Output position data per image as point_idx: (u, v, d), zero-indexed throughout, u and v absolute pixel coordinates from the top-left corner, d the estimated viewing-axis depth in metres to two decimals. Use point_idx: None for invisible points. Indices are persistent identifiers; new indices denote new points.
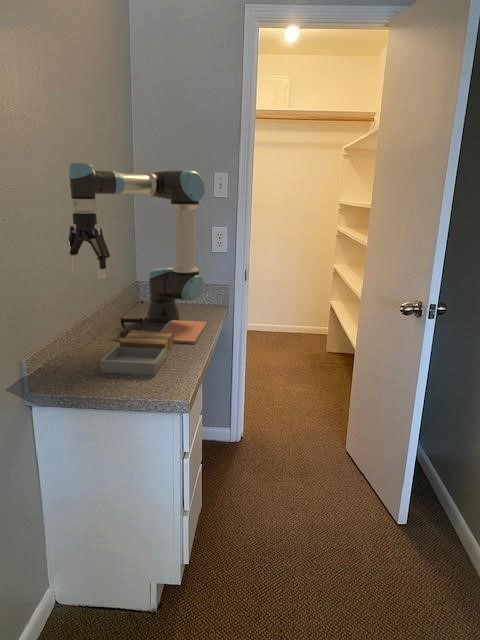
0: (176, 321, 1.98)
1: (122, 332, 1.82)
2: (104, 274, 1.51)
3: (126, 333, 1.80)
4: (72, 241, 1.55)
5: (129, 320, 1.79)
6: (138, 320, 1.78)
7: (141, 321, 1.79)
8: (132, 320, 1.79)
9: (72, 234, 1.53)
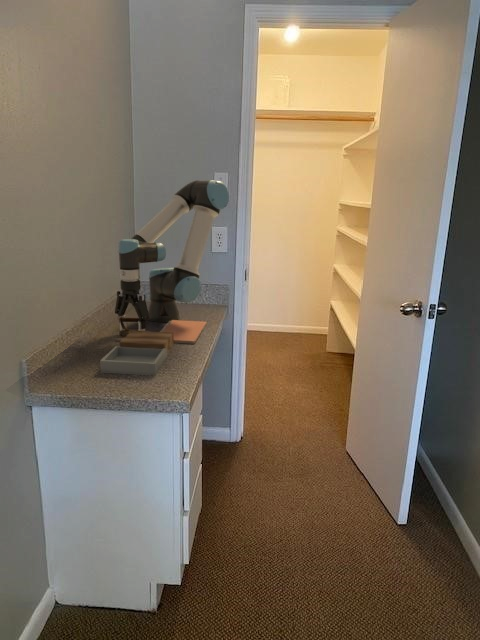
0: (176, 321, 1.98)
1: (121, 331, 1.82)
2: None
3: (125, 332, 1.81)
4: (119, 303, 1.82)
5: (128, 319, 1.79)
6: (137, 319, 1.78)
7: None
8: (131, 319, 1.79)
9: (119, 297, 1.80)
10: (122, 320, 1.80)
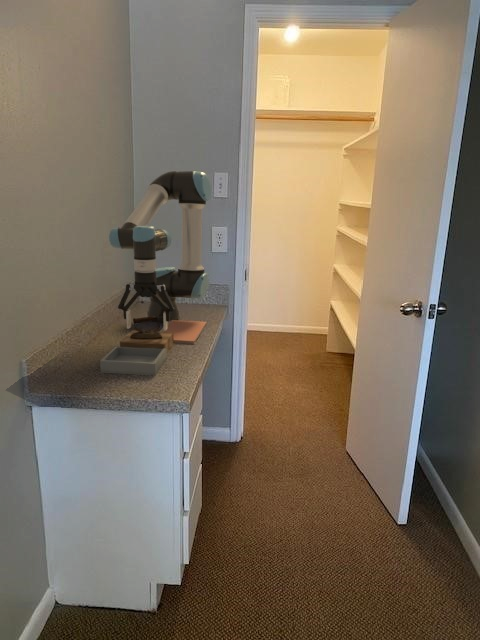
0: (175, 321, 1.98)
1: (134, 334, 1.63)
2: (167, 325, 1.64)
3: (141, 334, 1.62)
4: (126, 298, 1.61)
5: (144, 319, 1.62)
6: (155, 318, 1.63)
7: None
8: (147, 319, 1.62)
9: (128, 291, 1.60)
10: (136, 321, 1.61)
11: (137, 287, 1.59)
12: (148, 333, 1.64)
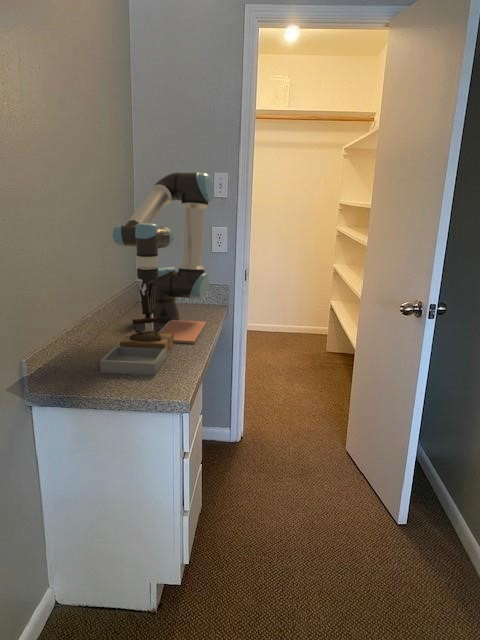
0: (175, 321, 1.98)
1: (133, 335, 1.61)
2: (151, 327, 1.66)
3: (140, 336, 1.61)
4: None
5: (143, 321, 1.60)
6: (154, 319, 1.61)
7: None
8: (147, 320, 1.60)
9: None
10: (136, 322, 1.60)
11: None
12: (147, 334, 1.62)
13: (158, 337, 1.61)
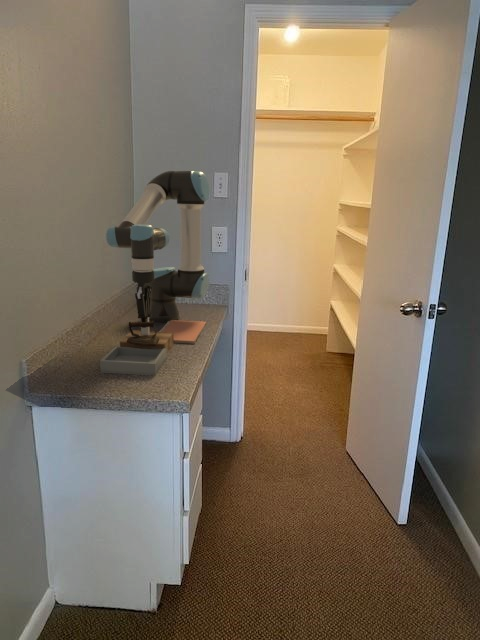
0: (175, 321, 1.98)
1: (130, 339, 1.58)
2: (147, 332, 1.61)
3: (135, 339, 1.57)
4: None
5: (139, 324, 1.56)
6: (150, 324, 1.56)
7: None
8: (143, 324, 1.56)
9: None
10: (131, 325, 1.56)
11: None
12: (143, 338, 1.57)
13: (153, 342, 1.56)
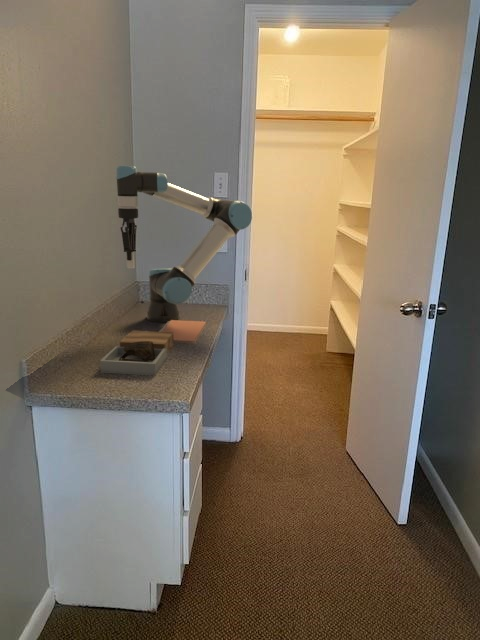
0: (175, 321, 1.98)
1: None
2: (132, 265, 1.80)
3: (133, 355, 1.55)
4: None
5: None
6: None
7: (143, 361, 1.49)
8: None
9: None
10: None
11: None
12: (140, 355, 1.54)
13: (151, 359, 1.55)
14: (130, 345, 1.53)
